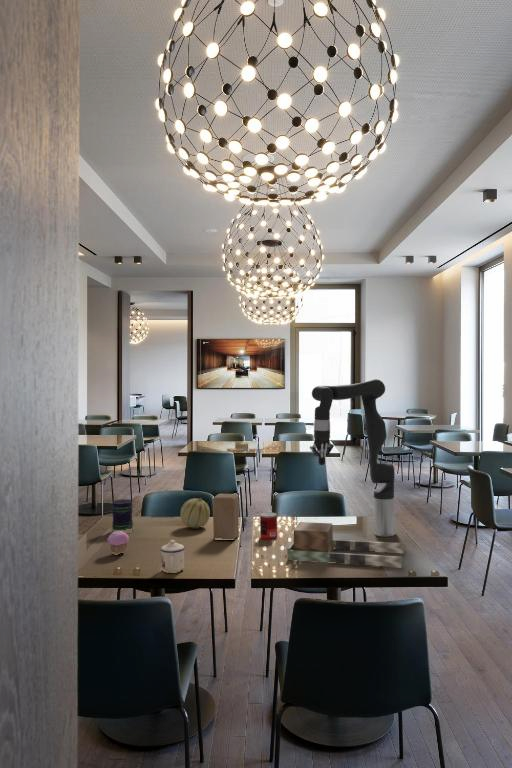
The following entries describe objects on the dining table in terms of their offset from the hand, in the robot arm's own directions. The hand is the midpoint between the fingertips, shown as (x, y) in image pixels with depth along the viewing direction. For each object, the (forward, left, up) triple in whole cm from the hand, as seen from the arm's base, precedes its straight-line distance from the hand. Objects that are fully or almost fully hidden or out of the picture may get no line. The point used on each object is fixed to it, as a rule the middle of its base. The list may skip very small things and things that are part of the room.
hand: (321, 464), depth 284 cm
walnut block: (+23, +26, -33) cm, 48 cm away
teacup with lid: (+81, +13, -33) cm, 89 cm away
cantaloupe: (+46, -44, -33) cm, 72 cm away
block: (+42, -18, -33) cm, 56 cm away
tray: (+14, +35, -33) cm, 49 cm away
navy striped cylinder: (+79, -57, -33) cm, 103 cm away
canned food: (+25, -8, -33) cm, 42 cm away
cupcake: (+92, -21, -33) cm, 100 cm away
